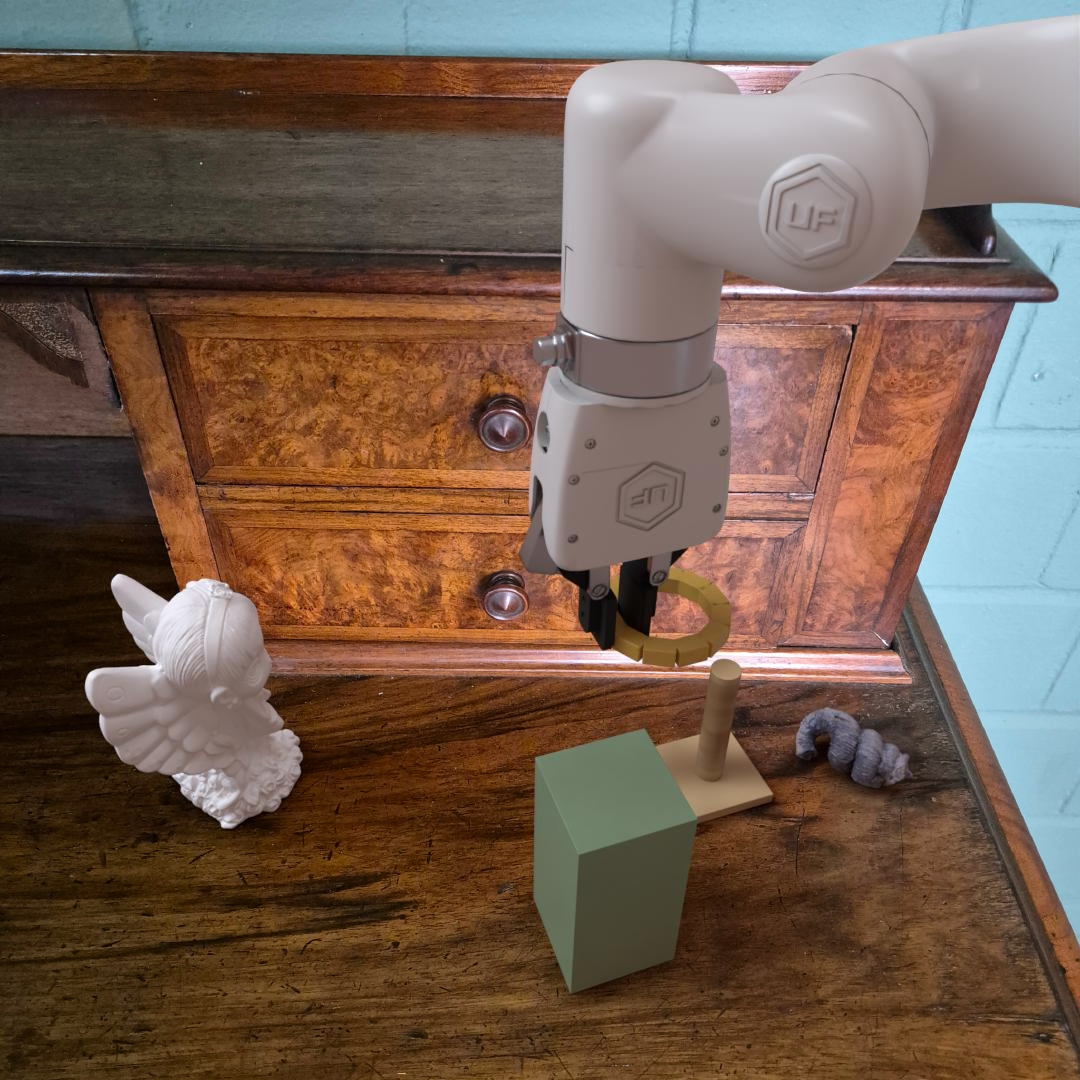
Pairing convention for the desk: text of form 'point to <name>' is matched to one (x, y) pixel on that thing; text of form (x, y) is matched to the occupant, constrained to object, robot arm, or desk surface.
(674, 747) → the post
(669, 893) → the stand
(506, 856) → the desk surface
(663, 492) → the robot arm
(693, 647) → the ring
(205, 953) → the desk surface
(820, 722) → the seashell
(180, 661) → the cherub figurine
